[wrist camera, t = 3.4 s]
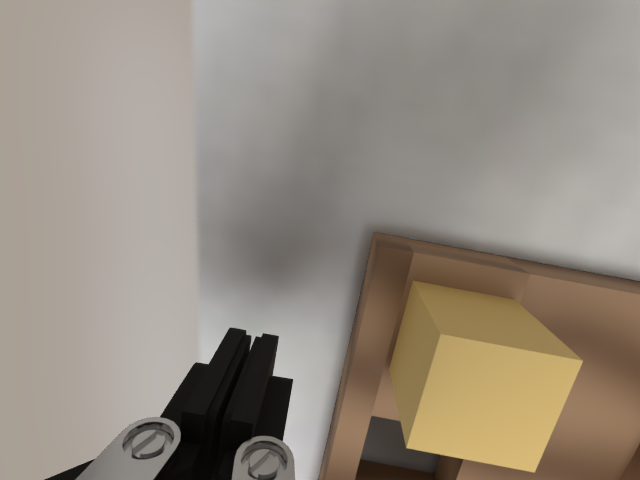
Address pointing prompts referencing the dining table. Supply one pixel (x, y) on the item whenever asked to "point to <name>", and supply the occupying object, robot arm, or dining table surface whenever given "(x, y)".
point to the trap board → (548, 308)
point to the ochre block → (478, 377)
